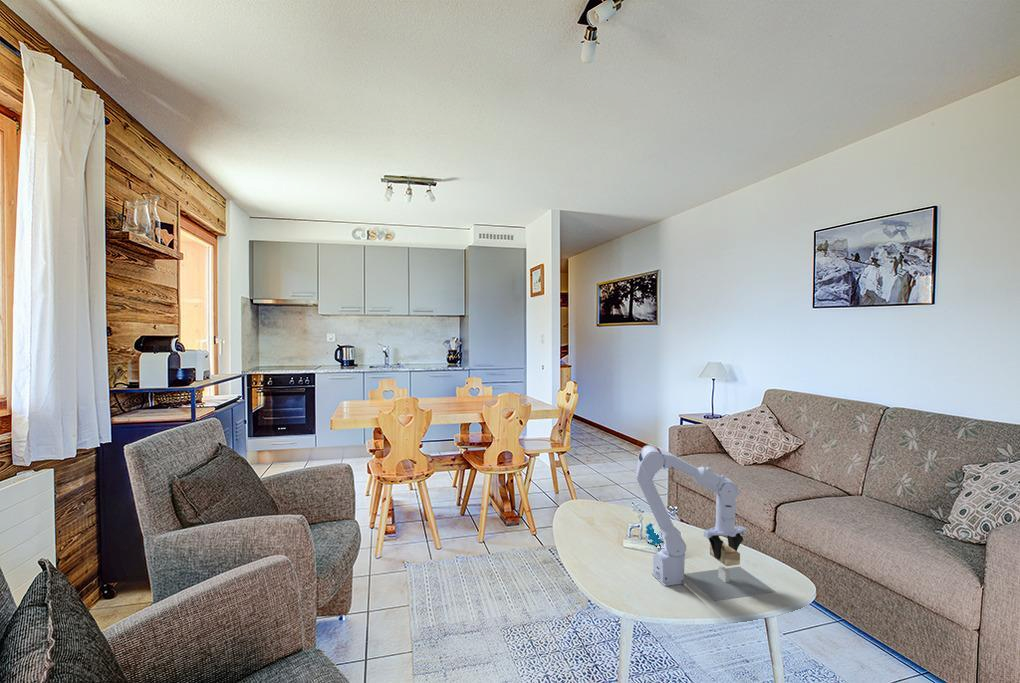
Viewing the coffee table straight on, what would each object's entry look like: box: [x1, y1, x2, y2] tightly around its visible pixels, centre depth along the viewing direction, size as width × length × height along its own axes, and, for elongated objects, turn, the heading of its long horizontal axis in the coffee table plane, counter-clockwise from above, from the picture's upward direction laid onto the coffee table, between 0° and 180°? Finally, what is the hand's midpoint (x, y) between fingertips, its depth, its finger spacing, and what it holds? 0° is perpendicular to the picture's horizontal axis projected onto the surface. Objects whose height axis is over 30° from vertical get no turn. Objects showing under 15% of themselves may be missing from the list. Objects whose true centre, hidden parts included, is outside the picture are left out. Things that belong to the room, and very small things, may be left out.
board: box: [684, 565, 777, 602], centre depth 152 cm, size 22×16×4 cm
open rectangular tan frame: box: [709, 542, 741, 567], centre depth 154 cm, size 8×5×4 cm, turn 14°
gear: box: [645, 522, 663, 546], centre depth 181 cm, size 11×6×10 cm
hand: (724, 557), depth 154 cm, fingers closed on open rectangular tan frame, 5 cm apart
